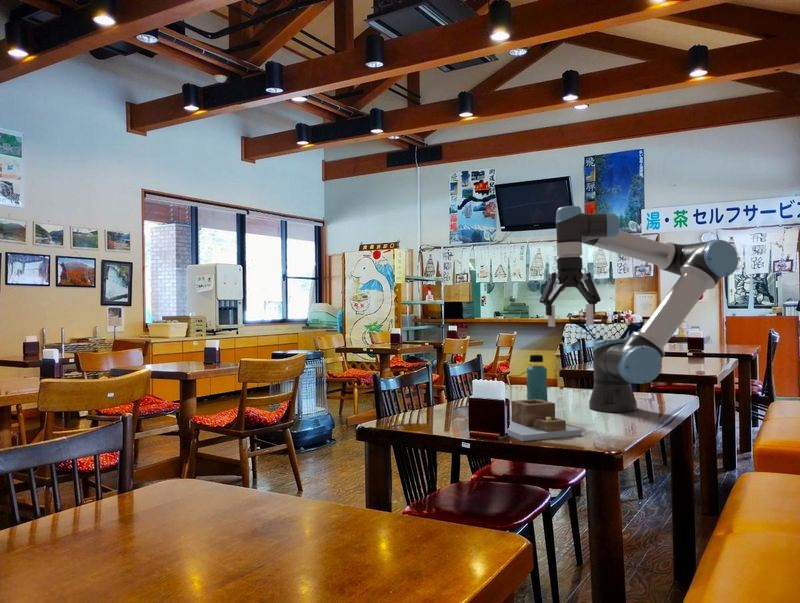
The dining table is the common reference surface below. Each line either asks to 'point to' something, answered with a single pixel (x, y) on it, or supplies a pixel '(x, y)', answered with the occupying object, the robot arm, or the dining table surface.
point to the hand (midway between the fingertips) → (571, 325)
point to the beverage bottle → (536, 380)
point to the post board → (539, 432)
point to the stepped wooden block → (536, 415)
